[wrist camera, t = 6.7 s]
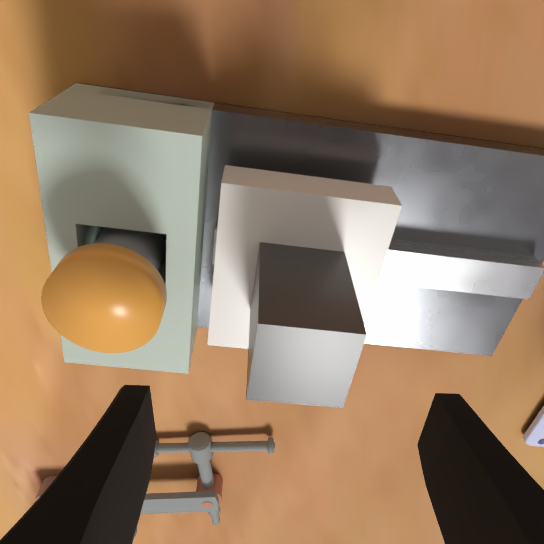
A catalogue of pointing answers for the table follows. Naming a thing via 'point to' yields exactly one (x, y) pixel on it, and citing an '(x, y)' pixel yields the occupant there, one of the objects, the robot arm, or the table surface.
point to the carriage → (298, 279)
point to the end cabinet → (129, 197)
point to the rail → (408, 219)
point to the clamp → (207, 483)
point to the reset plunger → (108, 291)
